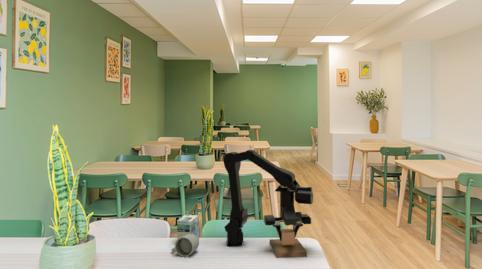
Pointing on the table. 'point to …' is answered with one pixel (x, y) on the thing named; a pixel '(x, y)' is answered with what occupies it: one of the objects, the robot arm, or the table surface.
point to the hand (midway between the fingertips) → (287, 240)
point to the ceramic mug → (186, 245)
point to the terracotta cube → (287, 237)
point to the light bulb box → (188, 226)
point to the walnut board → (287, 249)
